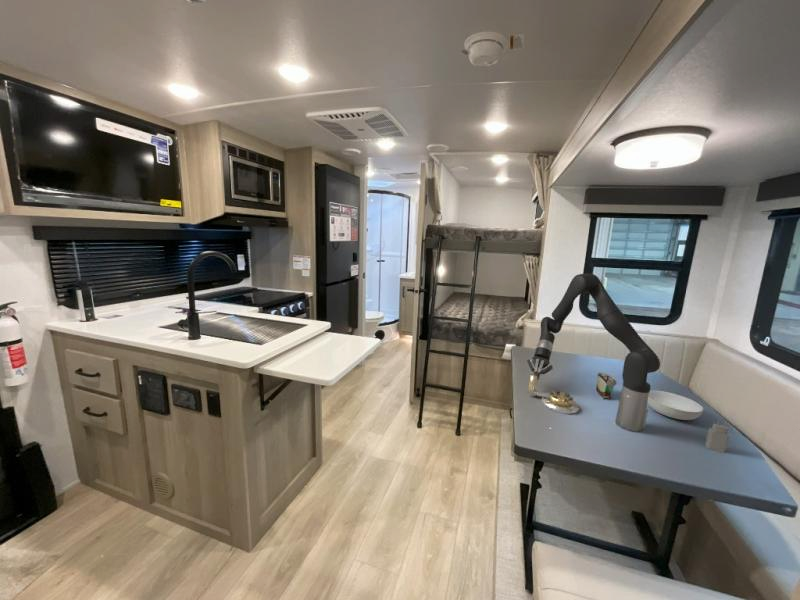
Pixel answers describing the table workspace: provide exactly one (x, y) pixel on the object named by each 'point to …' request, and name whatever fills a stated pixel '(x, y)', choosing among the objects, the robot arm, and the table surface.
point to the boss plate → (559, 409)
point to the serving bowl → (674, 405)
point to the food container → (605, 385)
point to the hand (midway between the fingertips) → (535, 379)
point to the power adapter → (717, 437)
